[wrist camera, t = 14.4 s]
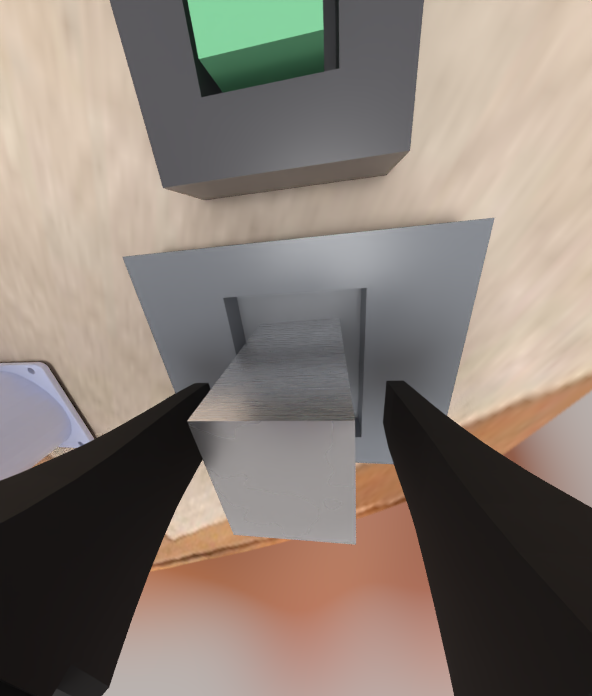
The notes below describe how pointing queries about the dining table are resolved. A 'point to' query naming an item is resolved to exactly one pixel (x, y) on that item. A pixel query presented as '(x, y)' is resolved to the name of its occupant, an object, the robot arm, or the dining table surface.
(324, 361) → the block
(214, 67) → the button
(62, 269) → the dining table surface
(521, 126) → the dining table surface
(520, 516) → the robot arm
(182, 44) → the button housing
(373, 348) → the pocket plate
